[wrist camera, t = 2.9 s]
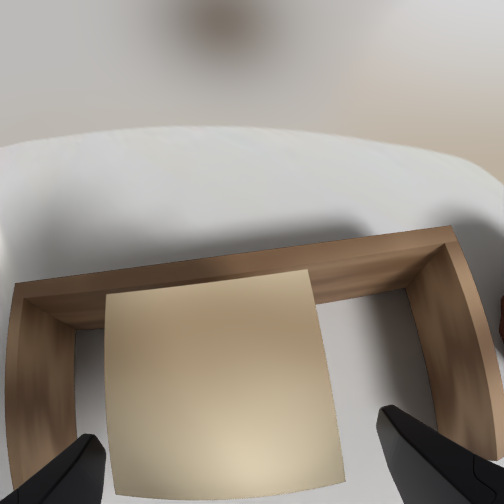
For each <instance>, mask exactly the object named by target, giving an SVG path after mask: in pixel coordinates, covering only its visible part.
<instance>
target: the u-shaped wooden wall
mask: <svg viewBox="0 0 504 504" xmlns="http://www.w3.org/2000/svg"><path fill="white" fill-rule="evenodd" d="M305 269H308V274H309V278H310V283H311V287H312V292H313V297H314V301H315V305H316V304H322V303H328V302H334V301H339V300H345V299H351V298H356V297H362V296H367V295H372V294H377V293H382V292H387V291H392V290H397V289H402V288H405V289H406V292H407V296H408V299H409V302H410V306H411V309H412V313H413V316H414V320H415V323H416V327H417V331H418V334H419V338H420V342H421V346H422V350H423V354H424V359H425V363H426V367H427V372H428V377H429V382H430V386H431V392H432V397H433V402H434V408H435V414H436V420H437V427H438V432H439V433H440V434H442V435H444V436H445V437H447V438H449V439H450V440H452V441H454V442H456V443H457V444H459V445H461V446H463V447H464V448H466V449H468V450H470V451H471V452H473V454H477V455H479V456H480V457H482V458H484V459H486V460H490V461H498V460H500V459H501V458H503V457H504V391H503V385H502V380H501V375H500V370H499V365H498V361H497V356H496V352H495V348H494V344H493V340H492V336H491V333H490V329H489V326H488V322H487V319H486V316H485V312H484V309H483V306H482V303H481V300H480V297H479V294H478V291H477V288H476V285H475V283H474V280H473V277H472V274H471V272H470V269H469V267H468V264H467V261H466V259H465V257H464V254H463V252H462V249H461V247H460V245H459V242H458V240H457V238H456V235H455V233H454V231H453V229H452V227H451V225H450V226H442V227H435V228H427V229H420V230H412V231H405V232H397V233H390V234H382V235H375V236H367V237H360V238H352V239H344V240H337V241H329V242H322V243H314V244H307V245H299V246H292V247H284V248H277V249H269V250H262V251H254V252H247V253H239V254H232V255H224V256H216V257H209V258H201V259H194V260H186V261H179V262H171V263H164V264H156V265H149V266H141V267H134V268H126V269H119V270H111V271H104V272H96V273H89V274H81V275H74V276H66V277H59V278H51V279H44V280H36V281H29V282H21V283H15V287H14V292H13V298H12V305H11V312H10V319H9V327H8V337H7V348H6V364H5V422H6V437H7V448H8V457H9V465H10V472H11V478H12V484H13V489H14V490H15V489H17V488H18V487H19V486H21V485H22V484H23V483H24V482H26V481H27V480H28V479H29V478H31V477H32V476H33V475H34V474H35V473H37V472H38V471H39V470H40V469H42V468H43V467H44V466H45V465H46V464H48V463H49V462H50V461H51V460H53V459H54V458H55V457H56V456H57V455H59V454H60V453H61V452H62V451H63V450H65V449H66V448H67V447H68V446H69V445H71V444H72V443H73V442H74V441H75V440H77V431H76V417H75V393H74V355H75V331H76V330H84V329H102V328H105V309H106V294H115V293H124V292H133V291H142V290H151V289H159V288H168V287H176V286H185V285H193V284H201V283H209V282H217V281H225V280H232V279H240V278H248V277H255V276H262V275H270V274H277V273H284V272H291V271H298V270H305Z"/></svg>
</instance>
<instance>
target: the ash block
mask: <svg viewBox="0 0 504 504" xmlns="http://www.w3.org/2000/svg"><path fill="white" fill-rule="evenodd" d="M104 376H105V403H106V419H107V431H108V442H109V451H110V460H111V468H112V475H113V481H114V488H115V494H116V495H124V496H132V497H142V498H153V499H169V500H226V499H243V498H254V497H264V496H272V495H280V494H287V493H293V492H299V491H305V490H310V489H315V488H320V487H325V486H330V485H334V484H338V483H342V482H346V480H345V473H344V465H343V458H342V451H341V444H340V438H339V431H338V425H337V419H336V412H335V406H334V400H333V395H332V389H331V383H330V378H329V372H328V367H327V361H326V356H325V351H324V346H323V340H322V335H321V330H320V325H319V321H318V316H317V311H316V306H315V301H314V297H313V292H312V287H311V283H310V278H309V274H308V269H305V270H298V271H291V272H284V273H277V274H270V275H262V276H255V277H248V278H240V279H232V280H225V281H217V282H209V283H201V284H193V285H185V286H176V287H168V288H159V289H151V290H142V291H133V292H124V293H115V294H106V309H105V337H104Z"/></svg>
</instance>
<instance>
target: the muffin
mask: <svg viewBox="0 0 504 504" xmlns="http://www.w3.org/2000/svg"><path fill="white" fill-rule="evenodd" d="M499 333H500V335H501V337H502V340H503V342H504V296H503V297H502V298H501V320H500V326H499Z"/></svg>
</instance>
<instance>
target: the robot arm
mask: <svg viewBox="0 0 504 504" xmlns="http://www.w3.org/2000/svg"><path fill="white" fill-rule="evenodd" d="M376 429H377V433H378V436H379V439H380V442H381V446H382V449H383V452H384V455H385V459H386V462H387V465H388V468H389V471H390V473H391V475H392V478H393V480H394V482H395V484H396V486H397V489H398V491H399V493H400V495H401V498H402V500H403V502H404V504H504V468H503V467H501V466H499V465H496V464H494V463H492V462H490V461H488V460H486V459H484V458H482V457H480V456H479V455H477V454H473V452H471V451H470V450H468V449H466V448H464V447H463V446H461V445H459V444H457V443H456V442H454V441H452V440H450V439H449V438H447V437H445V436H444V435H442V434H440V433H439V432H437V431H435V430H433V429H432V428H430V427H428V426H427V425H425V424H424V423H422V422H420V421H419V420H417V419H415V418H414V417H412V416H410V415H409V414H407V413H406V412H404V411H402V410H401V409H399V408H398V407H396V406H394V405H388V406H384V407H381V408H380V410H379V413H378V419H377V423H376ZM105 462H106V451H105V449H104V447H103V446H102V444H101V443H100V441H99V439H98V438H97V437H96V436H95V435H94V434H83V435H81V436H80V437H79V438H78V439H77V440H75V441H74V442H73V443H72V444H71V445H69V446H68V447H67V448H66V449H65V450H63V451H62V452H61V453H60V454H59V455H57V456H56V457H55V458H54V459H53V460H51V461H50V462H49V463H48V464H46V465H45V466H44V467H43V468H42V469H40V470H39V471H38V472H37V473H35V474H34V475H33V476H32V477H31V478H29V479H28V480H27V481H26V482H24V483H23V484H22V485H21V486H19V487H18V488H17V489H15V490H14V491H13V492H12V493H10V494H9V495H8V496H6V497H5V498H4V499H2V500H1V501H0V504H101V499H102V493H103V485H104V473H105Z"/></svg>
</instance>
